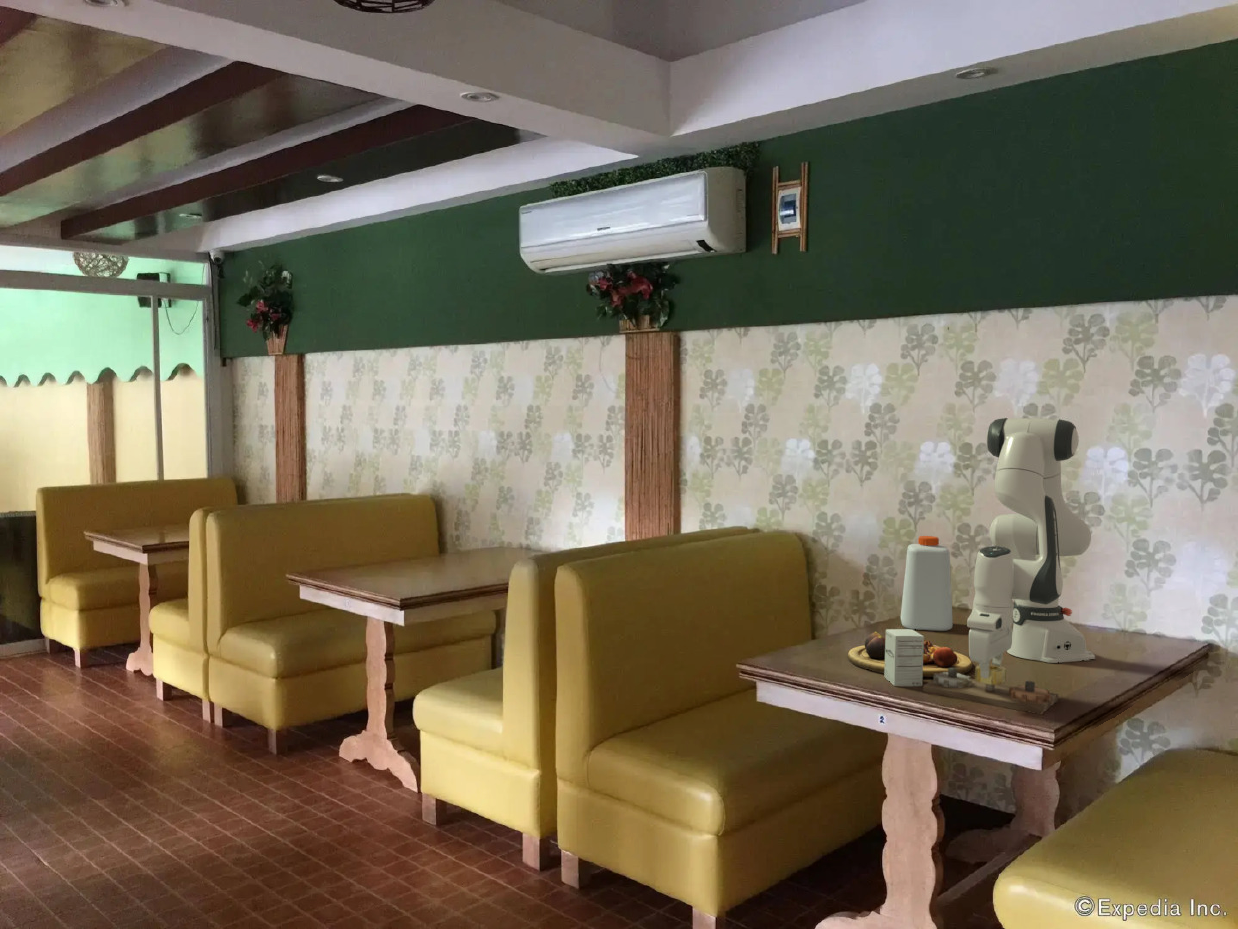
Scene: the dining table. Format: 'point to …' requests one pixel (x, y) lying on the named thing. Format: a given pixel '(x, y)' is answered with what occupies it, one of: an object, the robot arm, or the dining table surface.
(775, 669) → the dining table surface
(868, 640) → the wooden plate with food
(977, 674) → the brass gear
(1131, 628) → the dining table surface
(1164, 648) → the dining table surface
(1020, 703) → the gear board
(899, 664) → the supplement box
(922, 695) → the dining table surface
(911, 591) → the plastic bottle
